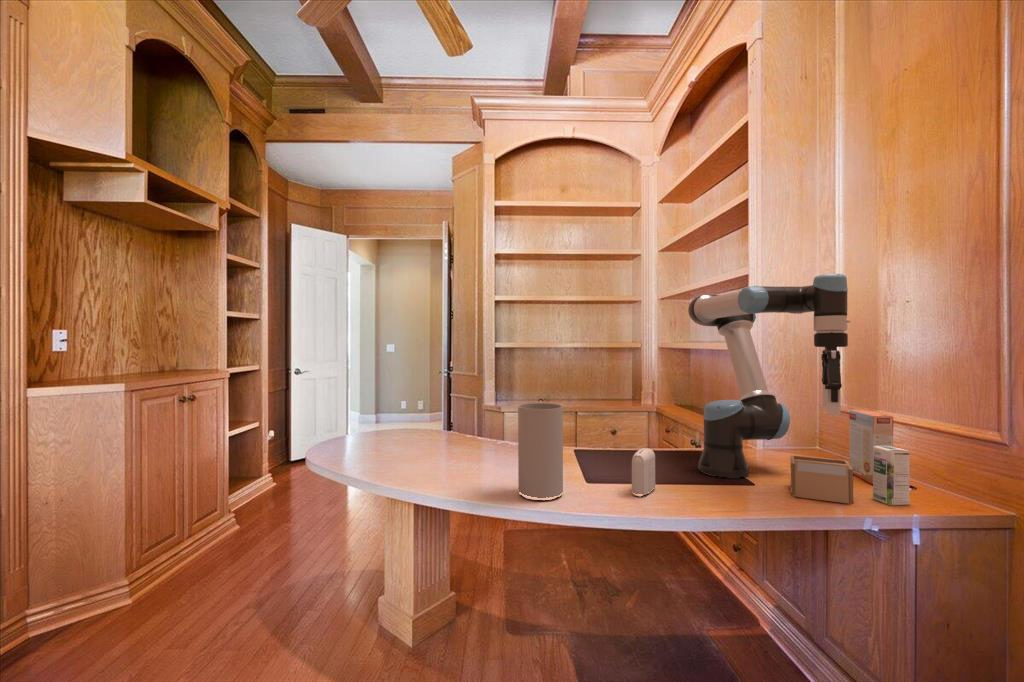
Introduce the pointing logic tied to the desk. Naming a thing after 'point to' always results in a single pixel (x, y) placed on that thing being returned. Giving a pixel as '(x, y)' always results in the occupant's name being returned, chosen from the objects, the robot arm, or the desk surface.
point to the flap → (822, 481)
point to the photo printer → (643, 471)
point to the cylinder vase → (540, 449)
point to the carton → (821, 461)
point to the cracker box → (868, 440)
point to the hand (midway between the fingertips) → (831, 411)
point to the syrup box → (891, 475)
